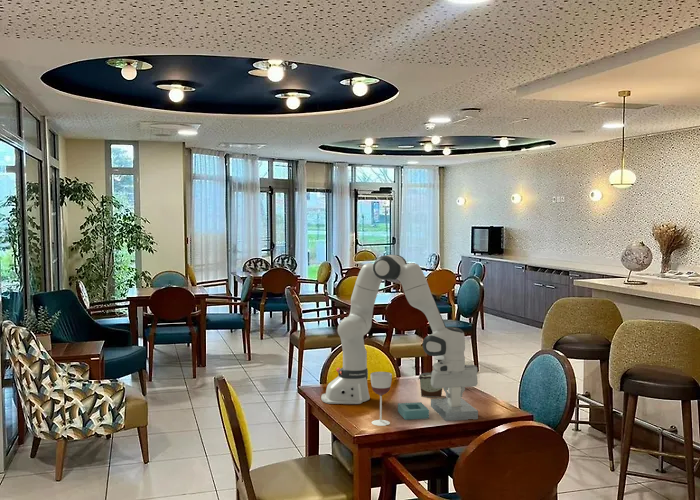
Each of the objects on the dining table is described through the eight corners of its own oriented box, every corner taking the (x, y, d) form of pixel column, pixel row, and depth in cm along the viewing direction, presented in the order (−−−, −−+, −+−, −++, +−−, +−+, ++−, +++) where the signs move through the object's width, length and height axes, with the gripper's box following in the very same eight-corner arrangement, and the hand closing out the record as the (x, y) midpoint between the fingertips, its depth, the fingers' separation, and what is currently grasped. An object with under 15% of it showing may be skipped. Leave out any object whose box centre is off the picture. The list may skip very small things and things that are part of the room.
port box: (445, 420, 255) (445, 411, 255) (430, 406, 275) (430, 398, 275) (477, 419, 258) (478, 409, 258) (460, 405, 278) (460, 396, 277)
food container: (443, 393, 296) (444, 373, 296) (444, 397, 290) (444, 376, 290) (418, 392, 297) (418, 372, 297) (418, 396, 291) (418, 375, 291)
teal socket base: (404, 419, 257) (405, 411, 256) (397, 411, 268) (397, 403, 268) (429, 418, 259) (429, 410, 258) (421, 410, 270) (421, 402, 270)
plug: (451, 411, 263) (451, 387, 263) (447, 407, 268) (447, 384, 268) (460, 410, 264) (460, 387, 264) (456, 407, 269) (456, 384, 269)
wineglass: (367, 420, 255) (368, 372, 254) (388, 419, 257) (388, 371, 256) (373, 426, 248) (373, 377, 247) (393, 425, 250) (394, 375, 249)
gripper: (474, 362, 271) (474, 394, 271) (429, 364, 267) (429, 396, 267) (480, 366, 264) (479, 398, 265) (434, 367, 261) (433, 400, 261)
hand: (454, 397), depth 266 cm, fingers closed on plug, 4 cm apart
